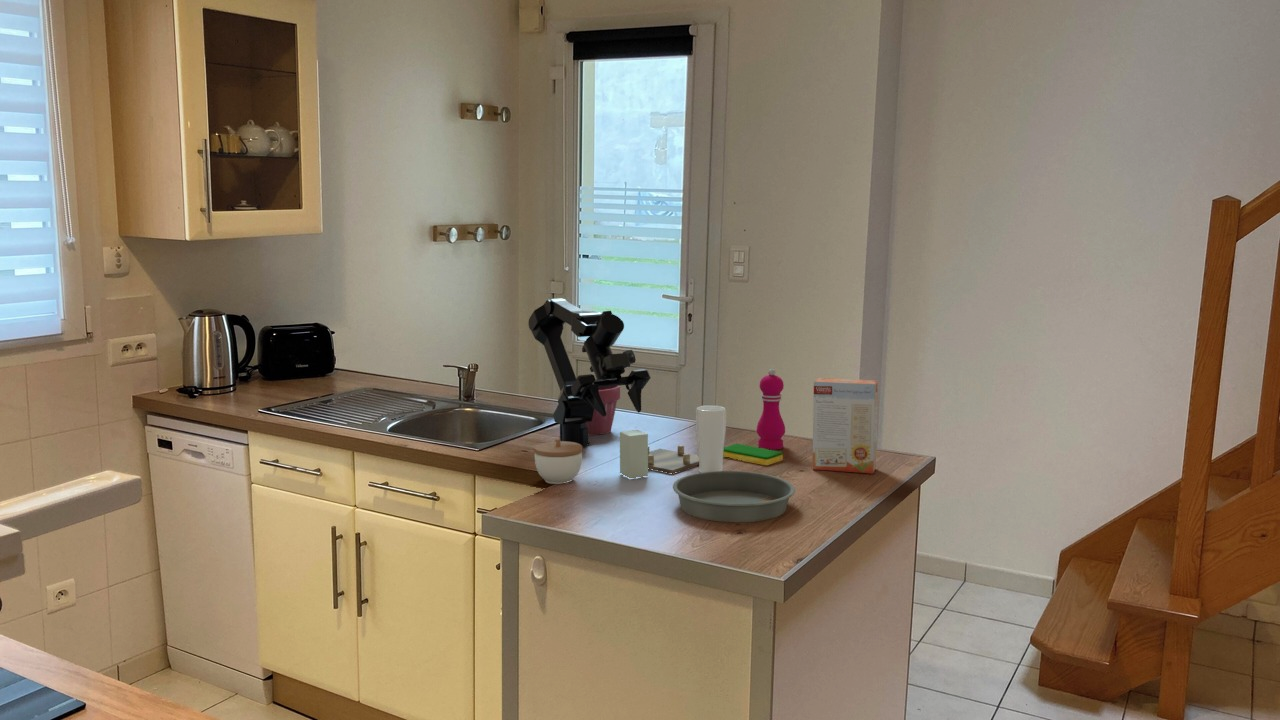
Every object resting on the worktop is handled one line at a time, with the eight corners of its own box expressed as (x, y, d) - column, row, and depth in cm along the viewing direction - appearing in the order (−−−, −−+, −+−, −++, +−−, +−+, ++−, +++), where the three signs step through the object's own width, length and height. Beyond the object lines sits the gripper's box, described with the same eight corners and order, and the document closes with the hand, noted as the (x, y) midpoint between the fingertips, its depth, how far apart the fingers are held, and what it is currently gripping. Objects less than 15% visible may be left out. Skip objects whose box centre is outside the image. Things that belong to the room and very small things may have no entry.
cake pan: (707, 532, 186) (707, 509, 185) (652, 498, 208) (652, 477, 208) (818, 516, 196) (819, 494, 195) (755, 485, 218) (755, 465, 217)
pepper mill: (784, 450, 249) (785, 371, 246) (755, 449, 250) (756, 370, 247) (785, 444, 256) (787, 367, 253) (757, 443, 257) (758, 366, 254)
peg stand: (621, 464, 236) (621, 452, 235) (659, 452, 247) (659, 440, 247) (672, 474, 227) (672, 461, 226) (710, 461, 238) (710, 449, 238)
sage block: (620, 474, 226) (619, 431, 225) (637, 472, 229) (637, 429, 227) (630, 480, 222) (629, 436, 221) (647, 477, 224) (647, 433, 223)
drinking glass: (705, 477, 224) (706, 411, 222) (690, 470, 230) (690, 406, 228) (731, 474, 227) (731, 409, 225) (715, 467, 233) (716, 404, 231)
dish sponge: (736, 452, 249) (736, 443, 249) (783, 461, 240) (783, 451, 240) (719, 457, 244) (719, 448, 243) (766, 467, 235) (766, 457, 234)
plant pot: (608, 438, 263) (608, 391, 261) (559, 435, 267) (559, 388, 266) (627, 428, 276) (627, 382, 274) (581, 424, 281) (580, 379, 279)
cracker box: (876, 468, 231) (879, 379, 228) (873, 474, 226) (876, 383, 223) (815, 463, 236) (817, 376, 233) (811, 469, 230) (813, 380, 227)
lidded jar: (580, 473, 228) (579, 433, 227) (585, 485, 218) (585, 443, 216) (532, 475, 226) (532, 435, 225) (536, 488, 216) (535, 445, 214)
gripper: (577, 341, 227) (599, 399, 220) (648, 336, 237) (670, 391, 230) (561, 367, 236) (582, 424, 229) (630, 361, 245) (651, 416, 238)
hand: (622, 413), depth 231 cm, fingers open, 9 cm apart
